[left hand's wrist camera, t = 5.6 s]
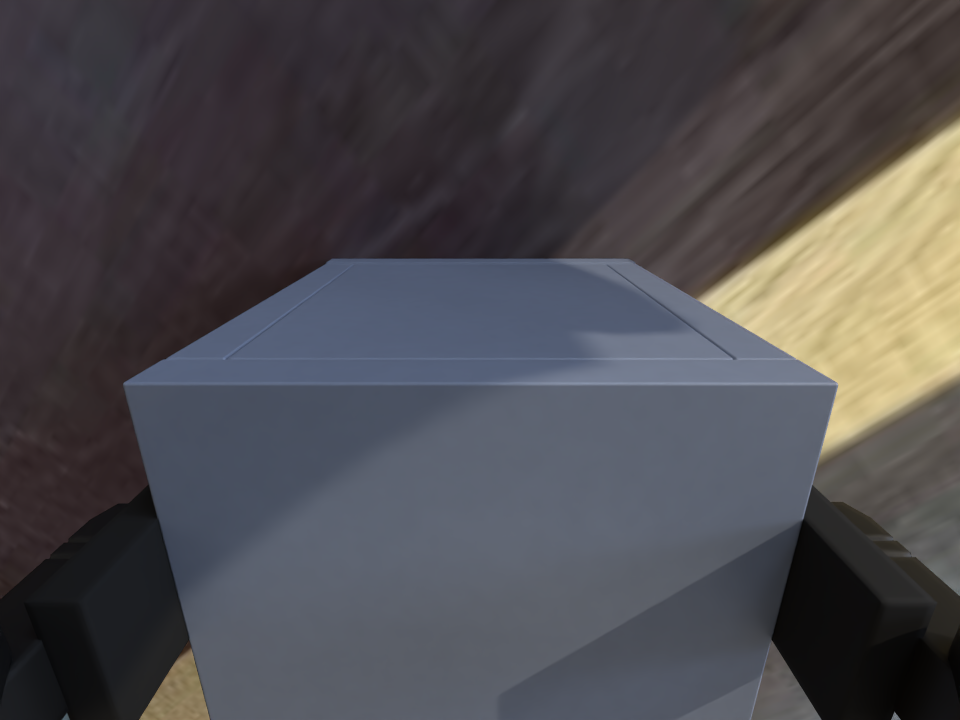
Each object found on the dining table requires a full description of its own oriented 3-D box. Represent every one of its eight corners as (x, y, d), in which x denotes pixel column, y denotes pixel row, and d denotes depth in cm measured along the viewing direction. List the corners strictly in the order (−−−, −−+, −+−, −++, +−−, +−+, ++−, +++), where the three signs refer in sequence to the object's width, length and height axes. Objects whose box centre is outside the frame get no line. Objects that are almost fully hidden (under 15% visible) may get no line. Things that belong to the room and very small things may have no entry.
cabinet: (597, 577, 24) (697, 928, 13) (363, 577, 24) (262, 927, 13) (628, 258, 19) (841, 382, 8) (332, 258, 19) (118, 382, 8)
